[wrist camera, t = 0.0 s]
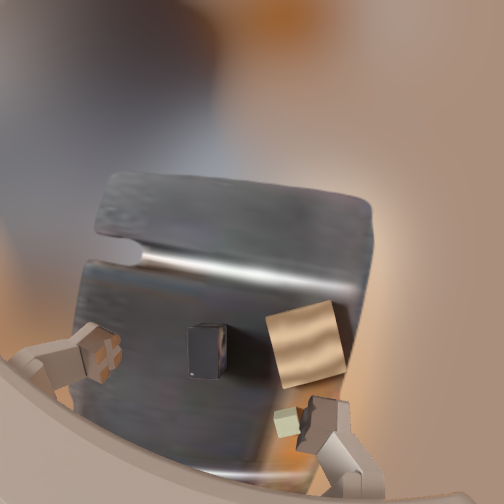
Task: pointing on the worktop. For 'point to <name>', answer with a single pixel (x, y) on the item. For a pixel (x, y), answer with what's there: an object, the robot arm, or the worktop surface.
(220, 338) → the small box
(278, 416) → the sage cube
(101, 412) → the worktop surface
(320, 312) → the birch platform
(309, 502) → the robot arm
